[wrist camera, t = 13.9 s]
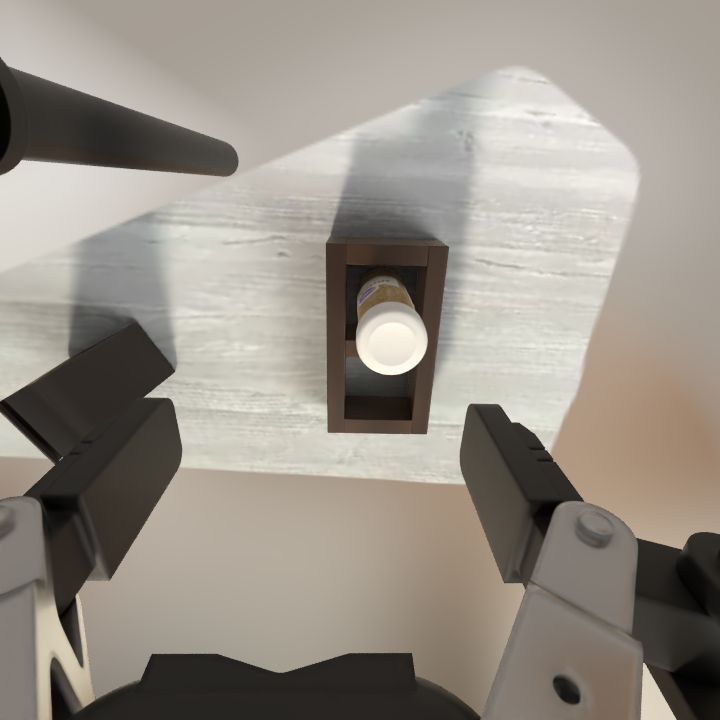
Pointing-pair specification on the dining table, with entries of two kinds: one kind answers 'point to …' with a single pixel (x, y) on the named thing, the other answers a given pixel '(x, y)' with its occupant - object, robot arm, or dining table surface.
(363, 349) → the sprinkles bottle
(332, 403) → the holder
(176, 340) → the dining table surface
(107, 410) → the phone stand
